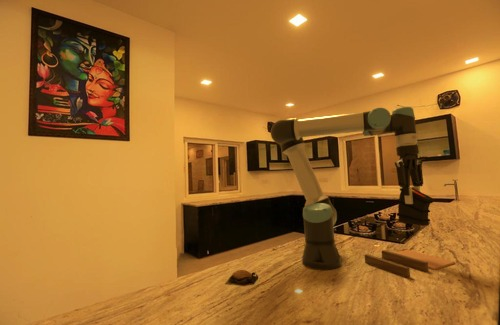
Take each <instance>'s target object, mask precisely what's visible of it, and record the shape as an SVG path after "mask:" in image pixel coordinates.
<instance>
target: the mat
mask: <svg viewBox="0 0 500 325" xmlns="http://www.w3.org/2000/svg"><path fill="white" fill-rule="evenodd" d="M395 253H396V254H400V255H404V256H407V257H411V258H414V259H418V260H422V261H425V262H428V269H429V270H432V271H436V270H440V269H443V268H445V267H446V268H447V267H448V266H451V265H452V266H453V265H456V261H453V260H449V259H446V258H441V257H438V256H434V255H429V254H425V253H422V252H417V251H414V250H410V249H404V250H401V251H397V252H395Z"/></svg>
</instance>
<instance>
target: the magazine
mask: <svg viewBox="0 0 500 325" xmlns="http://www.w3.org/2000/svg"><path fill="white" fill-rule="evenodd" d="M399 191H400V193H399V196H398V197H399V199H397V200H396V202H397V203H398V206H397V208H398V209H397V213H396V217H398V222H399V223H402V224H403V223H405V224H410V225H416V226H424V227H425V226H429V224H430V223H429V222H431V219H430V218H429V213H431V210H430V205H431V204H433V203H434V201H433V197H431V196H429V195H427V194H425V193H424V192H421V191H420V192H419V191H417V190H415V189H413V188H412V196H413V204H405V196H404V190H403V187H400V188H399Z"/></svg>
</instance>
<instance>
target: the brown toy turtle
mask: <svg viewBox="0 0 500 325" xmlns="http://www.w3.org/2000/svg"><path fill="white" fill-rule="evenodd" d="M258 278H259V275H258V274H257V273H255V272H252V273H251V271H248V270H245V269H237V271H235V272H233V273H232V275H231V276H230V277H229V278H228V279H227V280H226V281H225V285H234V286H252V285H255V283H257V281H258Z"/></svg>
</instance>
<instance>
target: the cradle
mask: <svg viewBox="0 0 500 325" xmlns="http://www.w3.org/2000/svg"><path fill="white" fill-rule="evenodd" d="M381 257H382V258H381ZM381 257H378V256H375V255H371V254H367V253H366V254H364V263H365V264H368V265H370V266H373V267H377V268H379V269H382V270H385V271H387V272H391V273H393V274H396V275H399V276H401V277H404V278H407V279H408V278H411V272H410V270H411V269H410V268H412V269H416V270H419V271H421V272H424V273H425V272H427V273H428V272H429V271H430V269H429V268H428V262H425V261H422V260H418V259H414V258H411V257H407V256H404V255H400V254H396V252H392V251H389V250H386V249H382V250H381Z"/></svg>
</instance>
